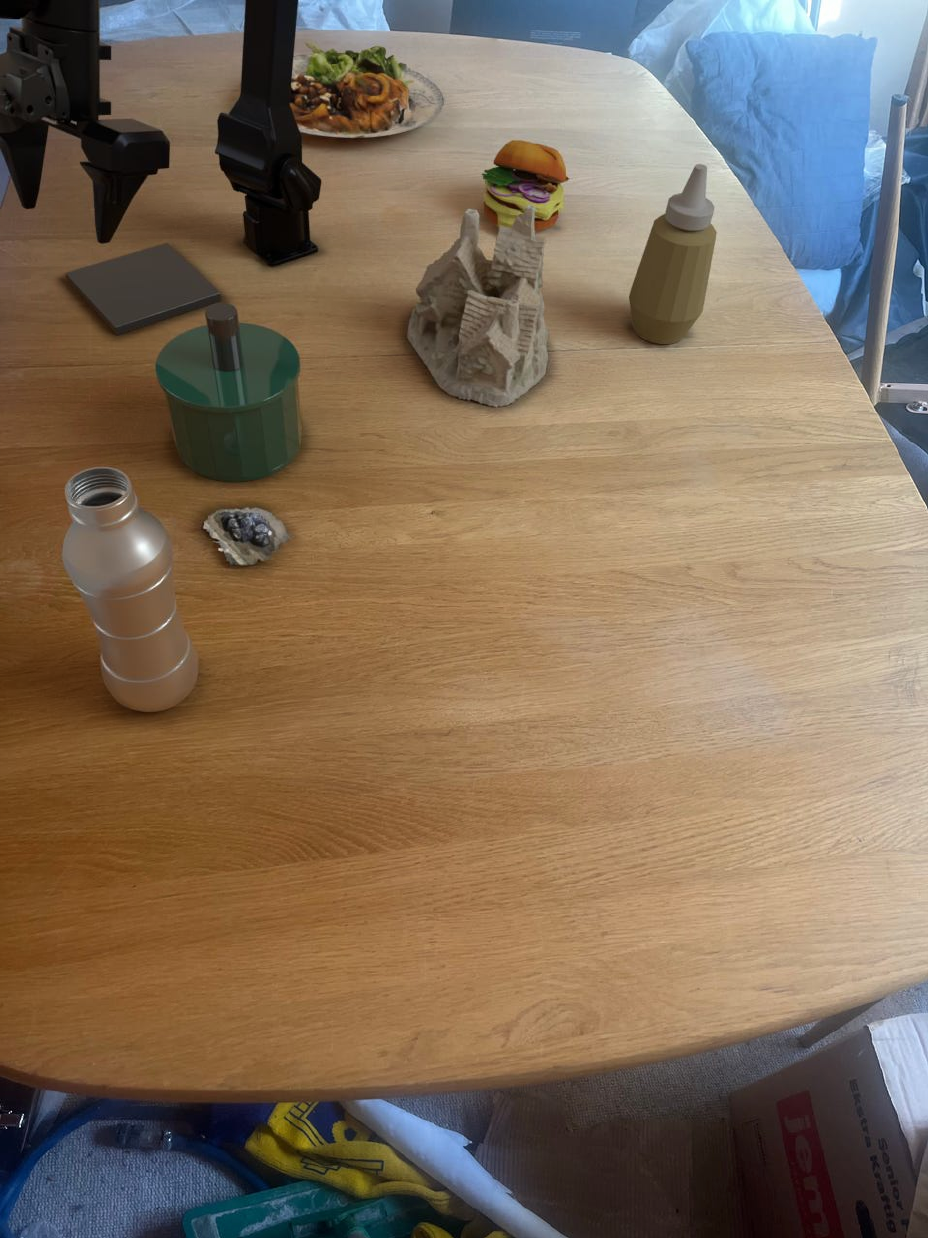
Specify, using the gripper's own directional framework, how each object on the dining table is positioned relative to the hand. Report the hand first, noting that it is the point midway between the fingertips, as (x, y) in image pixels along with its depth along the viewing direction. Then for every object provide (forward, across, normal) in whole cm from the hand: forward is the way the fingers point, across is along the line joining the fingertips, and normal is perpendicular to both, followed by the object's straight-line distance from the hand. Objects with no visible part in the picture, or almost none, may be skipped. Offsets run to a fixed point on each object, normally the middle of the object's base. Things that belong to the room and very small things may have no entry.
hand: (65, 225), depth 85 cm
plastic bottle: (+21, +32, -21) cm, 44 cm away
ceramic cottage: (+7, +28, +27) cm, 40 cm away
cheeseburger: (-1, +18, +54) cm, 57 cm away
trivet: (+10, -6, +15) cm, 19 cm away
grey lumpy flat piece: (+17, +27, -6) cm, 32 cm away
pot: (+14, +19, +3) cm, 23 cm away
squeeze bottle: (+2, +42, +43) cm, 60 cm away
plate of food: (-4, -17, +64) cm, 66 cm away
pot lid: (+6, +19, +1) cm, 20 cm away
